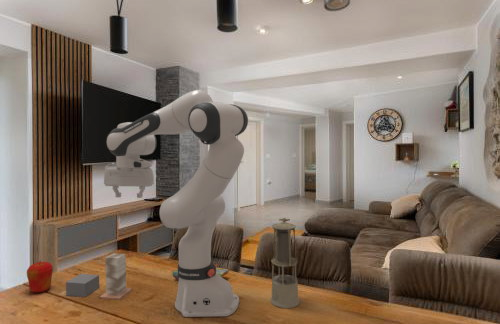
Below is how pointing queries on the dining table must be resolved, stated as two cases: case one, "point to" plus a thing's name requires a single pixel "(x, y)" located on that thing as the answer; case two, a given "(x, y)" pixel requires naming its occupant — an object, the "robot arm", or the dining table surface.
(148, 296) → the dining table surface
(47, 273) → the apple
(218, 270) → the puzzle game
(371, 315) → the dining table surface
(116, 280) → the cream block
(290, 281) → the lamp
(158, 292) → the dining table surface
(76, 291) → the charcoal plinth
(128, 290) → the terracotta tile
